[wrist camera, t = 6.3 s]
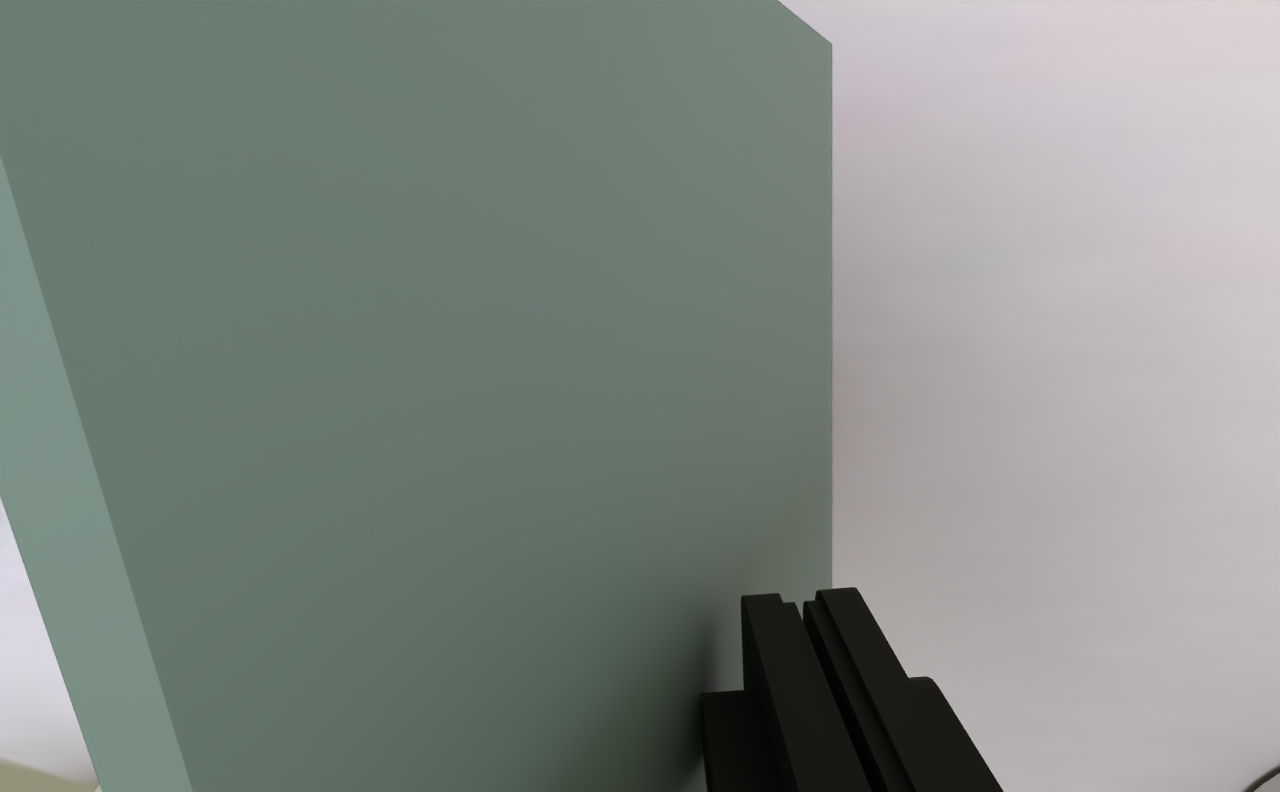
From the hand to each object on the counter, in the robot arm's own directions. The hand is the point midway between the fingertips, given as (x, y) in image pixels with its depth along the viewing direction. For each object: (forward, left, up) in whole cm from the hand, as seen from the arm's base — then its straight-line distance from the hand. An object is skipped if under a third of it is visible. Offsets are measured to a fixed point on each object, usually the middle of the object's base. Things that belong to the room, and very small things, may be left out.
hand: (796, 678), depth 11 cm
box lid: (0, +1, -1) cm, 2 cm away
